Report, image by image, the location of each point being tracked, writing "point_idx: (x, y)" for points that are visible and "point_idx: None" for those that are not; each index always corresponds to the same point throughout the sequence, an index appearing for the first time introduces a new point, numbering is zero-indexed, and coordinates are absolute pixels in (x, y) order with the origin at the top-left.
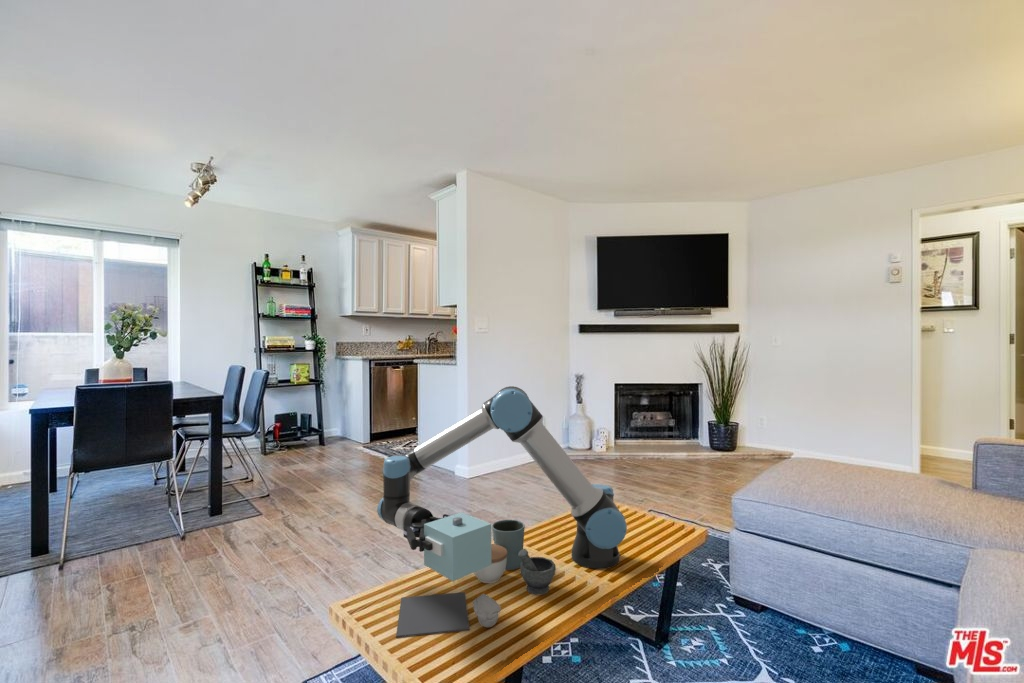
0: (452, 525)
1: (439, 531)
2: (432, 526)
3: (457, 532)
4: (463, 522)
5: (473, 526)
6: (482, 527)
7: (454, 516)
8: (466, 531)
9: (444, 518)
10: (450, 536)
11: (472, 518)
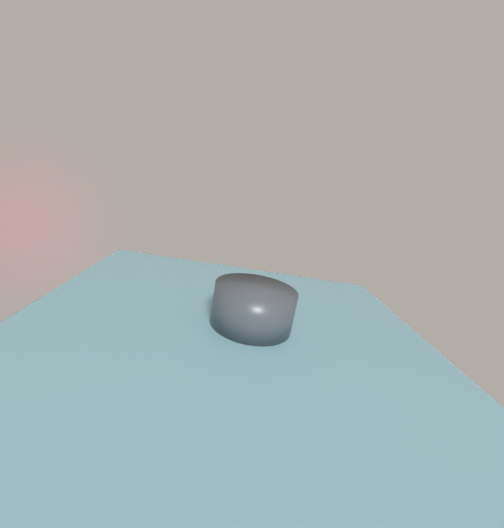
0: (300, 331)
1: (422, 339)
2: (498, 421)
3: (320, 289)
4: (195, 313)
5: (205, 274)
6: (180, 261)
7: (77, 456)
8: (275, 276)
9: (270, 520)
10: (368, 292)
11: (70, 305)
